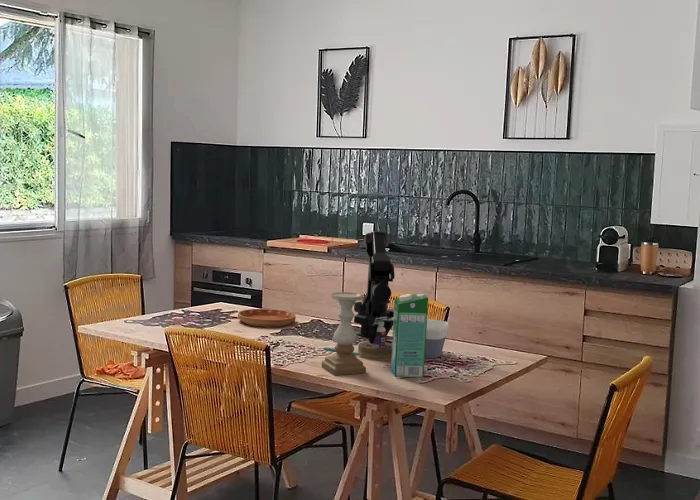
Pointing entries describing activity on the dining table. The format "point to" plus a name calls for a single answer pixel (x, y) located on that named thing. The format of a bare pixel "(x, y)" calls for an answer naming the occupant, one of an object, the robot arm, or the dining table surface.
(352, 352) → the teal stick
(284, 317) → the saucer
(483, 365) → the dining table surface
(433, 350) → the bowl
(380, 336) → the pill bottle
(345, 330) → the candle holder
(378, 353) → the brown faceted ring
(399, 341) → the milk carton
